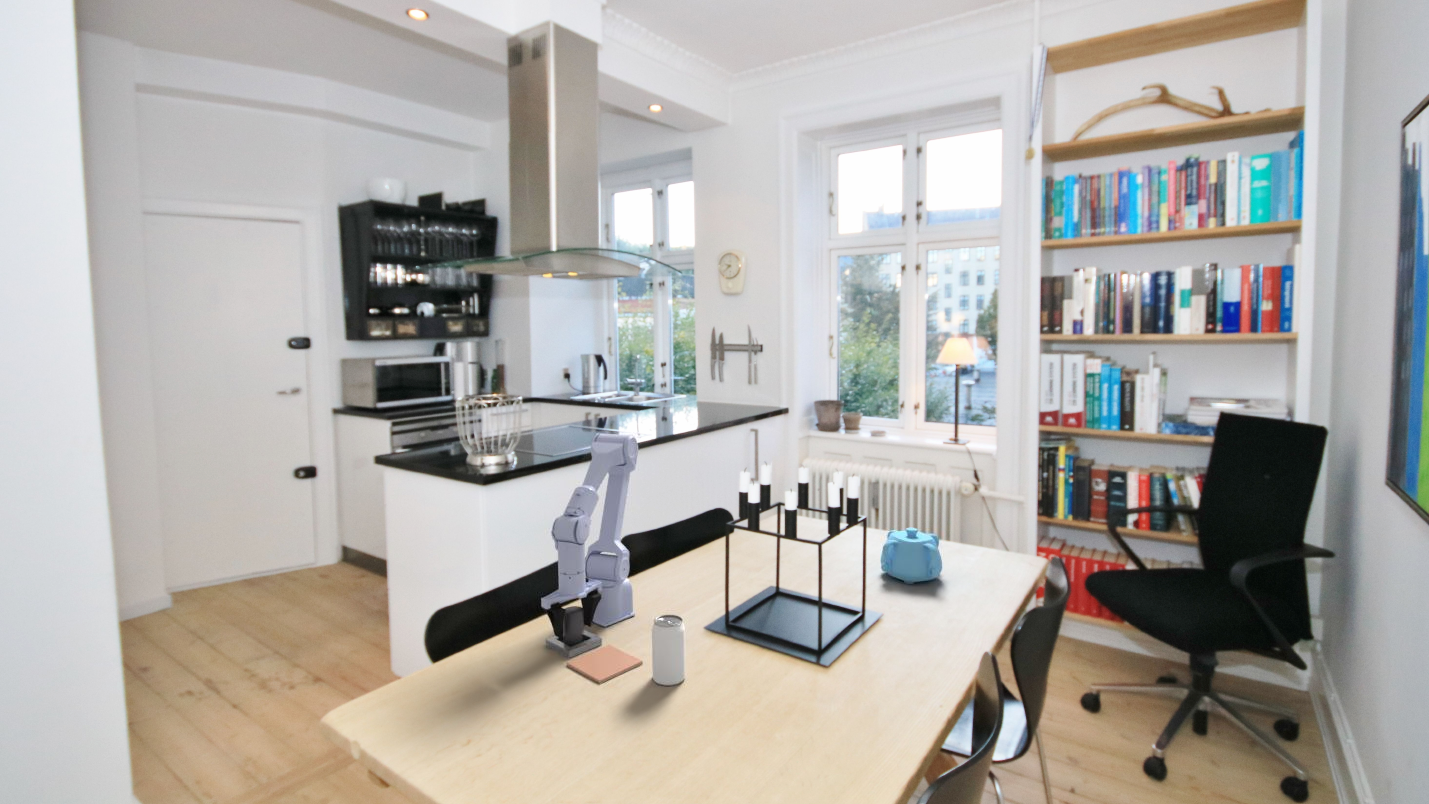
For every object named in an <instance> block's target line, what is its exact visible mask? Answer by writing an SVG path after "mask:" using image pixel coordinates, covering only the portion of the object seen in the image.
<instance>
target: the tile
mask: <svg viewBox="0 0 1429 804" xmlns="http://www.w3.org/2000/svg"><path fill="white" fill-rule="evenodd" d="M641 665H643V660H642V659H639V658H637V657H635V656H633V655H631V654H629V653H627V652H625V651H623V650H620V649H619V648H616V647H614V646H612V645H610V644H607V645H606V646H603V647H600V648H598V649H595V650H593V651H591V652H589V653H587V654H584V655H582V656H579V657H576V658H574V659H572V660H569V661H567V662H566V666H567V667H569V668H570V669H572V670H575V671H577V672H578V673H580V674H582V675H584V676H585V677H587V678H589V679H591V680H593V681H594V682H596V683H598V684H602V683H604V682H607V681H609V680H611V679H613V678H615V677H617V676H619V675H621V674H624V673H626V672H628V671H630V670H633V669H634V668H637V667H639V666H641Z"/></svg>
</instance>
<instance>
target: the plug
mask: <svg viewBox="0 0 1429 804" xmlns="http://www.w3.org/2000/svg"><path fill="white" fill-rule="evenodd" d="M564 609H566V611H565V615H564V621H563V637H564V644H566V645H568V646H570V647H572V646H574V645H577V644H579V643H582V642H584V630H585V625H584V616H583V608H582V606H577V605H572V606H567V607H565V608H564Z"/></svg>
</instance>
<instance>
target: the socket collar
mask: <svg viewBox="0 0 1429 804" xmlns="http://www.w3.org/2000/svg"><path fill="white" fill-rule="evenodd" d="M602 645H603V639H602V637H601V636H599V635H596V634H594V633H592V632H590V631H588V630H586V629H584V642H582V643H579V644H577V645H574V646H572V647H570V646H568V645H566V644H564V637H562V638H559V637H557V636H555V635H552V636H551V637H550V636H549V637H548V638H546V639H545V647H548V648H549V649H551V650H552V651H555V652H557V653H559V654H561V655H563V656H564V657H566V658H568V659H571V658H574V657H575V656H576V657H577V656H579V655H580V654H583V653H585V652H588V651H591V650H592V649H595V648H598V647H599V646H602Z"/></svg>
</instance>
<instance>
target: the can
mask: <svg viewBox="0 0 1429 804" xmlns="http://www.w3.org/2000/svg"><path fill="white" fill-rule="evenodd" d="M683 621H684V620H683V618H682V617H681V616H679V615H675V614H663V615H659V616H658V617H657V616H656V618H654V620H653V625H652V628H651V646H652V647H651V648H652V649H651V650H652V653H651V654H652V658H651V661H652V664H651V665H652V679H653V681H654V682H655V684H657V685H659V686H665V687H672V686H676V685H677V686H678V685H680V684H681V683H683V682H684V680H685V678H686V628H685V627H686V626H685V625H684V623H683Z"/></svg>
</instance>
